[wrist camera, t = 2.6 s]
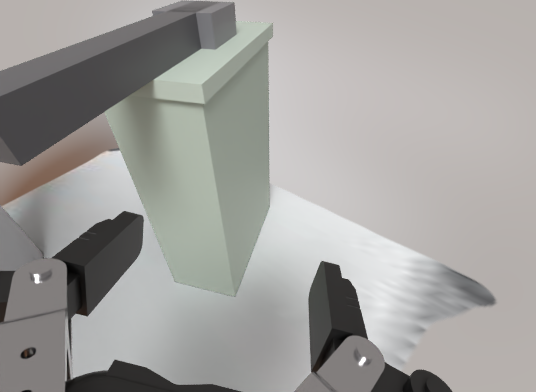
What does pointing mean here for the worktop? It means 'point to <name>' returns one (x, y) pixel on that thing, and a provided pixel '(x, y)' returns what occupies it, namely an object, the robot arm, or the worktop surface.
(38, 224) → the worktop surface
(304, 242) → the worktop surface
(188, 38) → the long gray t-shaped bar
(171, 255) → the tall capped green box
